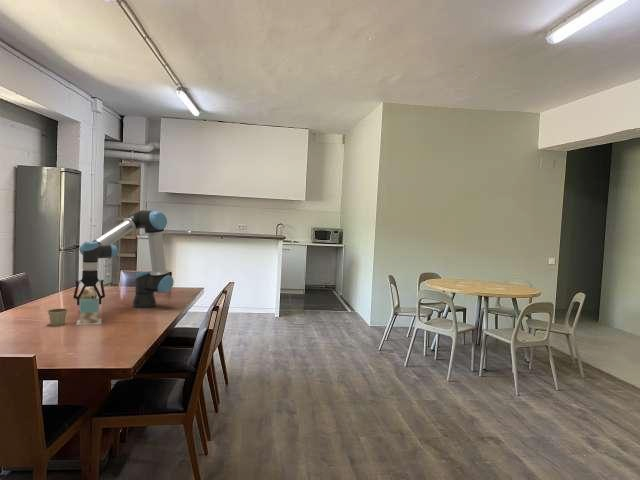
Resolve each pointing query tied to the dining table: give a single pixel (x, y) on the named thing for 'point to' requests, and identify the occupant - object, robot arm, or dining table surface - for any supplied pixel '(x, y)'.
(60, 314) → the flower pot
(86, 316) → the beech block
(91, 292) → the toy
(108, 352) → the dining table surface
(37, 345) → the dining table surface
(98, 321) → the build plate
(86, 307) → the teal block
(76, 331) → the dining table surface
